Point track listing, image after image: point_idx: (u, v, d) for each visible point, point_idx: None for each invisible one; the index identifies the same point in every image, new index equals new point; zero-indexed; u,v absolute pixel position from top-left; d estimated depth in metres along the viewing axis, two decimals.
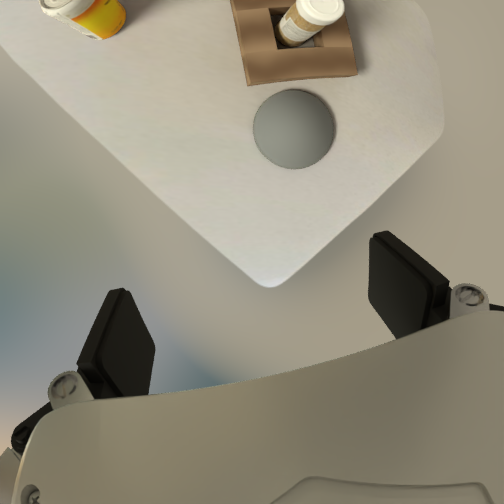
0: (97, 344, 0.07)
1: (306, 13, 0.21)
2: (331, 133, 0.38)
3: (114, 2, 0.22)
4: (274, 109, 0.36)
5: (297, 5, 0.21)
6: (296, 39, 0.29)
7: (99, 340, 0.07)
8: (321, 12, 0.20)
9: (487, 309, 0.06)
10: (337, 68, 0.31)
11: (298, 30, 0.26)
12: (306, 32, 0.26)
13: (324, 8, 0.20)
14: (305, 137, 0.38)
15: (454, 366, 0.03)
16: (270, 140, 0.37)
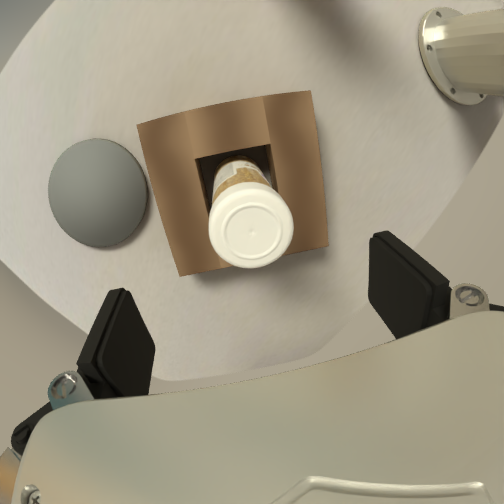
0: (97, 344, 0.07)
1: (220, 200, 0.15)
2: (99, 244, 0.28)
3: None
4: (114, 164, 0.25)
5: (242, 184, 0.16)
6: None
7: (99, 340, 0.07)
8: (225, 228, 0.15)
9: (487, 309, 0.06)
10: (180, 248, 0.26)
11: (215, 188, 0.20)
12: None
13: (236, 233, 0.15)
14: (86, 210, 0.26)
15: (454, 366, 0.03)
16: (74, 164, 0.24)
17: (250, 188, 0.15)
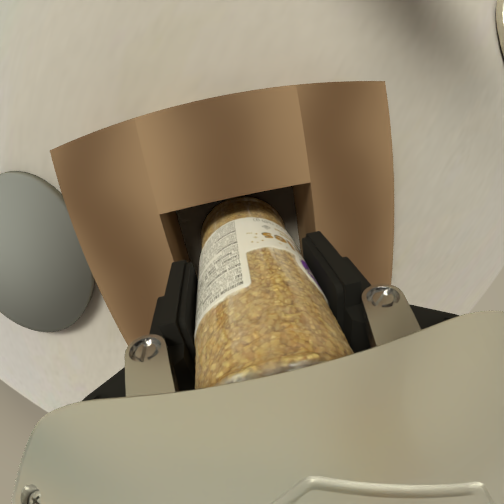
0: (177, 306, 0.08)
1: None
2: (40, 328, 0.16)
3: None
4: (37, 214, 0.13)
5: None
6: None
7: (178, 303, 0.08)
8: None
9: (406, 305, 0.07)
10: None
11: (200, 304, 0.09)
12: (194, 333, 0.09)
13: None
14: (13, 282, 0.15)
15: (454, 366, 0.03)
16: None
17: None
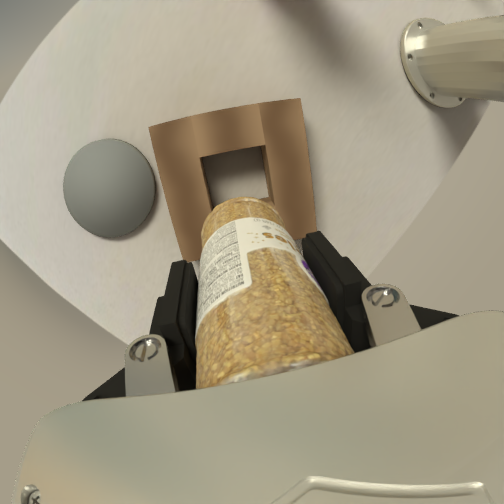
0: (177, 306, 0.08)
1: None
2: (110, 235, 0.31)
3: None
4: (126, 161, 0.28)
5: None
6: (199, 270, 0.12)
7: (178, 303, 0.08)
8: None
9: (406, 305, 0.07)
10: (185, 237, 0.29)
11: (200, 304, 0.09)
12: None
13: None
14: (99, 203, 0.29)
15: (454, 366, 0.03)
16: (89, 161, 0.27)
17: None
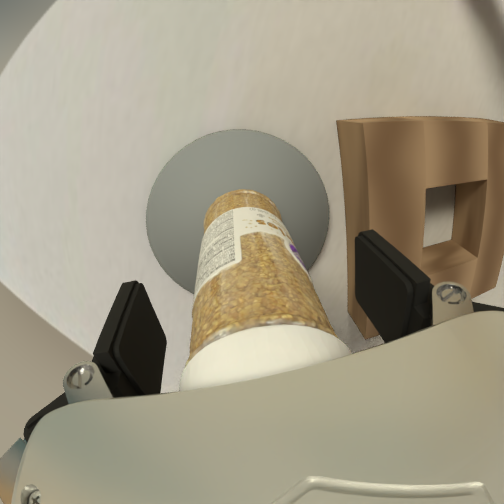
0: (114, 334, 0.07)
1: None
2: None
3: None
4: (286, 176, 0.17)
5: (259, 340, 0.06)
6: None
7: (115, 330, 0.08)
8: None
9: (470, 306, 0.06)
10: None
11: (198, 280, 0.10)
12: None
13: None
14: None
15: (454, 366, 0.03)
16: (209, 169, 0.16)
17: None
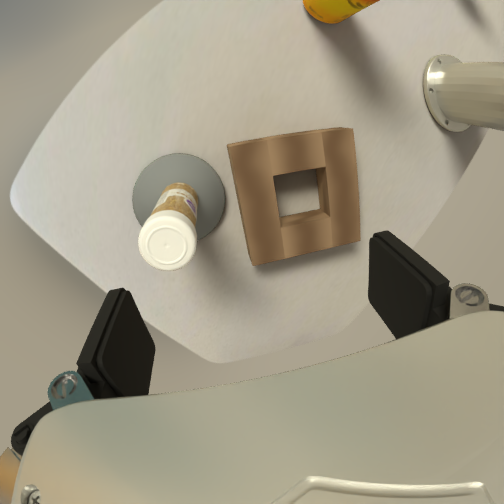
0: (97, 344, 0.07)
1: (144, 224, 0.21)
2: None
3: (348, 11, 0.22)
4: (199, 175, 0.33)
5: (160, 212, 0.22)
6: None
7: (99, 340, 0.07)
8: (148, 243, 0.21)
9: (487, 309, 0.06)
10: (256, 243, 0.35)
11: None
12: None
13: (156, 246, 0.22)
14: None
15: (454, 366, 0.03)
16: (162, 174, 0.32)
17: (163, 215, 0.21)
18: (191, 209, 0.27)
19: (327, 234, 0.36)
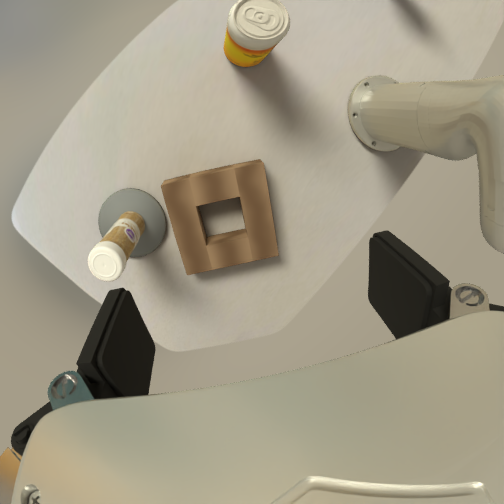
0: (97, 344, 0.07)
1: None
2: (134, 255, 0.45)
3: (252, 59, 0.31)
4: (145, 205, 0.42)
5: (101, 242, 0.31)
6: None
7: (99, 340, 0.07)
8: (93, 263, 0.31)
9: (487, 309, 0.06)
10: (187, 258, 0.44)
11: None
12: None
13: (98, 265, 0.31)
14: None
15: (454, 366, 0.03)
16: (118, 204, 0.41)
17: (101, 246, 0.30)
18: (128, 237, 0.36)
19: (246, 250, 0.44)
